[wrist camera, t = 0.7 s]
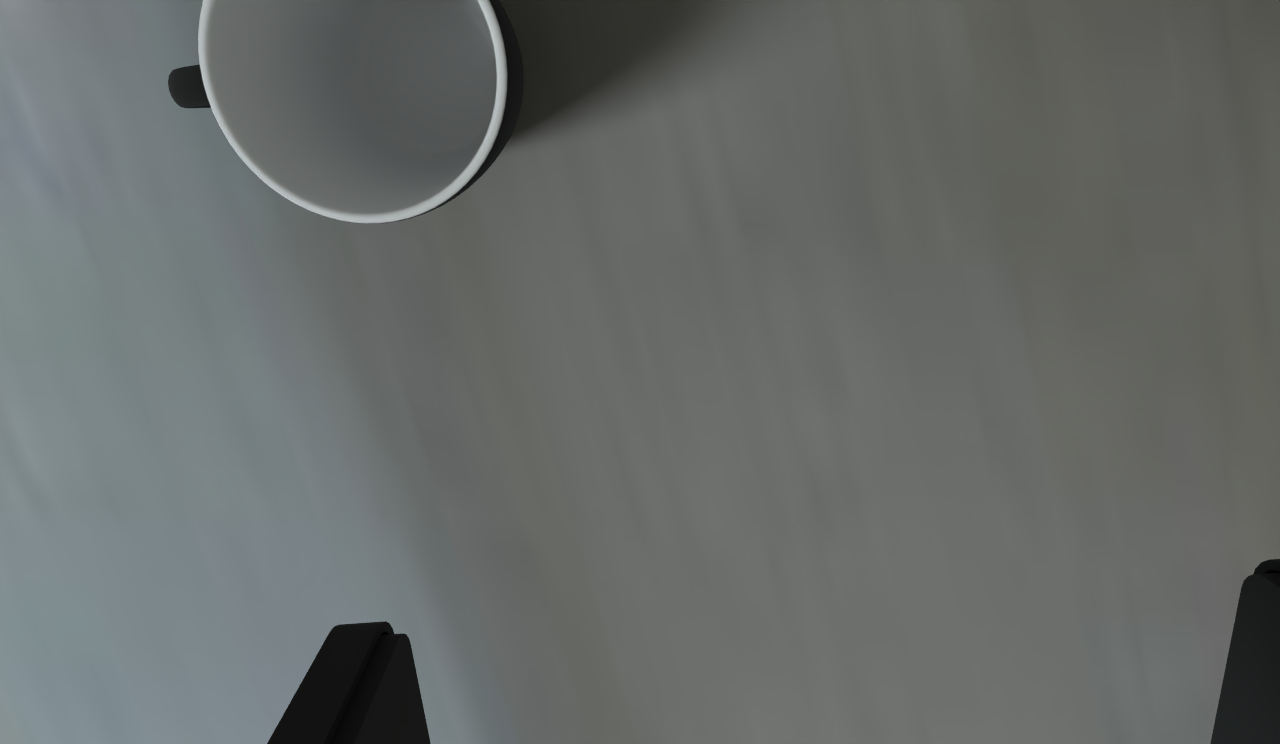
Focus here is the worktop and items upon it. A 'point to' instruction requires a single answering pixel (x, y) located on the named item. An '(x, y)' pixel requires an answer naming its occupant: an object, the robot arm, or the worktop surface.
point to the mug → (359, 97)
